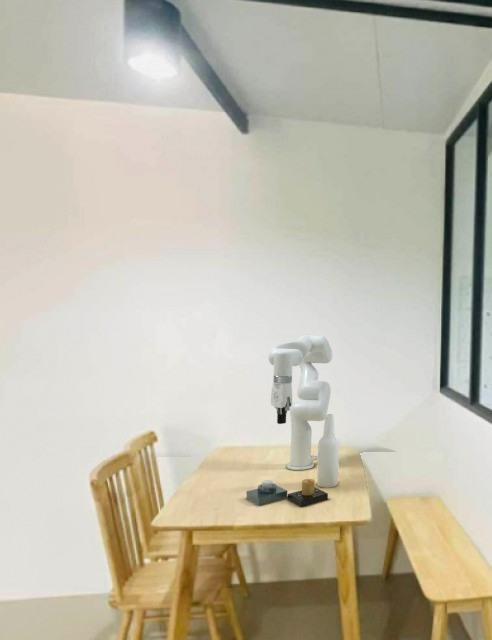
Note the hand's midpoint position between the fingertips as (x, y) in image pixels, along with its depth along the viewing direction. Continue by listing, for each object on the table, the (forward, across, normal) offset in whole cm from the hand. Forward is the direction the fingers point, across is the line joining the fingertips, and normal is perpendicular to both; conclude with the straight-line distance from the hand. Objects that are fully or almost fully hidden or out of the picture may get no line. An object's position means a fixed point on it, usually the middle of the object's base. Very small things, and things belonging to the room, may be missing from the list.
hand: (281, 423), depth 212 cm
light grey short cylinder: (+23, +8, -10) cm, 26 cm away
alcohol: (+27, +10, +17) cm, 34 cm away
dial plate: (+27, +20, +1) cm, 34 cm away
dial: (+25, +20, +1) cm, 32 cm away
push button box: (+27, +8, -10) cm, 30 cm away
